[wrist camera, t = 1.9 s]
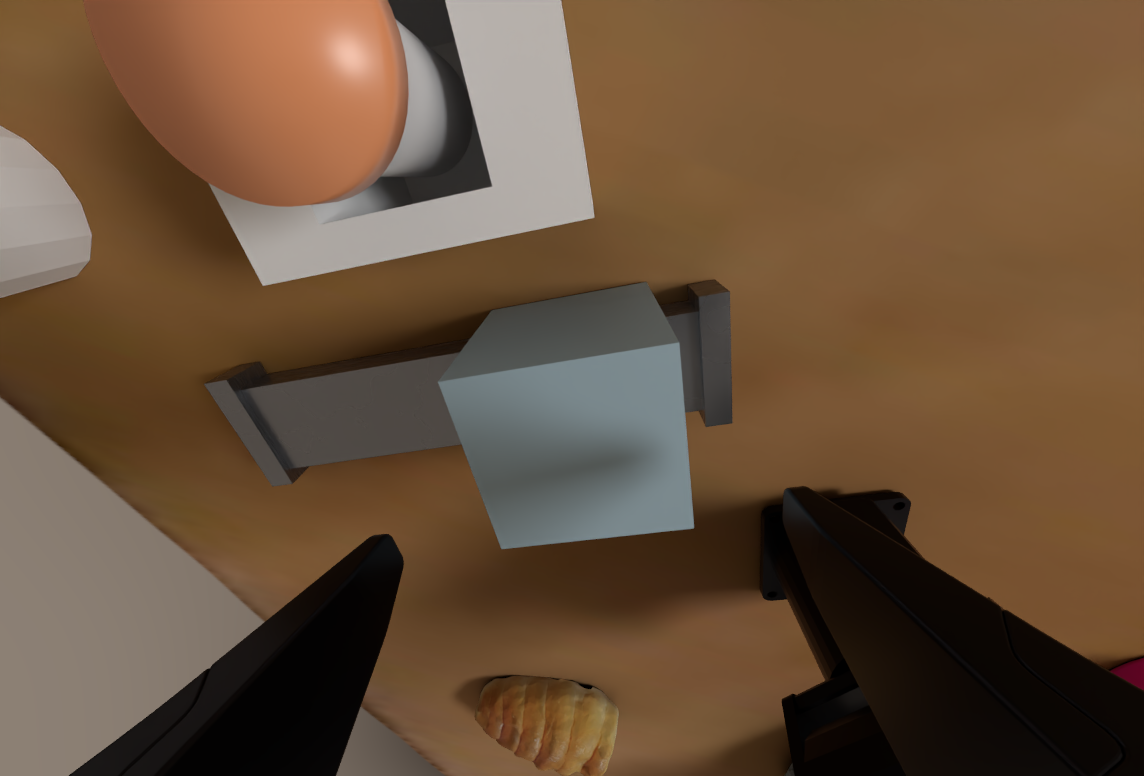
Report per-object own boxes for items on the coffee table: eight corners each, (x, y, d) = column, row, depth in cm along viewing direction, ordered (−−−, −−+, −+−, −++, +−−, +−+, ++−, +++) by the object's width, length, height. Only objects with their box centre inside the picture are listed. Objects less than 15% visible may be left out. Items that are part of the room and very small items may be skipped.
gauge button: (504, 178, 11) (424, 176, 6) (380, 206, 11) (198, 229, 6) (463, 3, 9) (297, -224, 4) (319, 43, 10) (2, -114, 4)
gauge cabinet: (592, 203, 14) (594, 217, 9) (378, 248, 15) (262, 286, 10) (553, -47, 11) (520, -251, 6) (293, 28, 12) (63, -89, 7)
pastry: (473, 705, 30) (458, 772, 27) (493, 654, 27) (479, 723, 24) (593, 731, 31) (593, 798, 28) (625, 685, 28) (630, 754, 25)
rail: (719, 400, 17) (732, 423, 16) (298, 461, 20) (272, 486, 18) (714, 279, 15) (729, 291, 13) (239, 365, 18) (203, 383, 16)
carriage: (661, 418, 18) (694, 528, 12) (528, 437, 18) (501, 549, 13) (646, 282, 15) (679, 342, 10) (491, 310, 16) (437, 381, 10)
